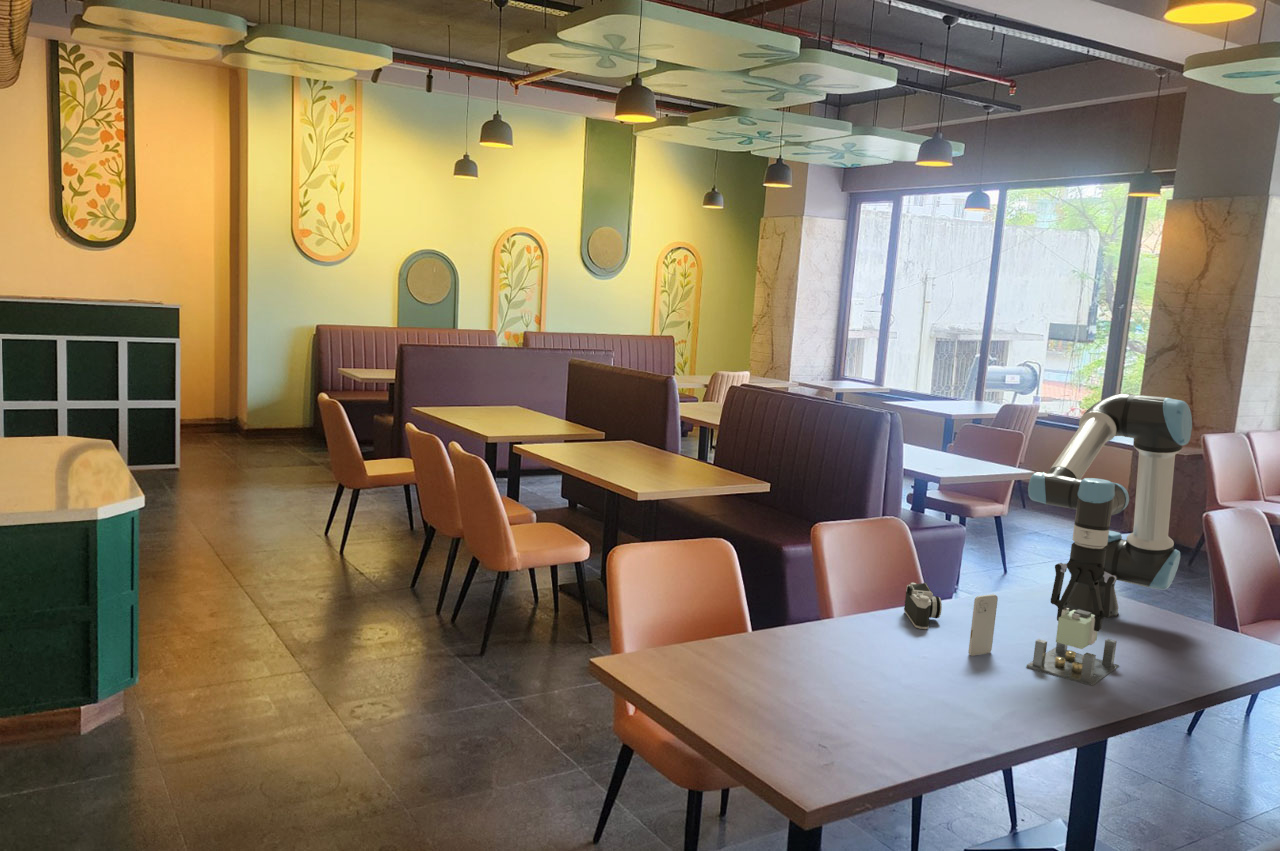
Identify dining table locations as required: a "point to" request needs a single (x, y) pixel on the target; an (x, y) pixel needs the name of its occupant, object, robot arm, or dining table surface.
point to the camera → (921, 605)
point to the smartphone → (983, 624)
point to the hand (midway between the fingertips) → (1076, 639)
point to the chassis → (1073, 662)
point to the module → (1074, 629)
